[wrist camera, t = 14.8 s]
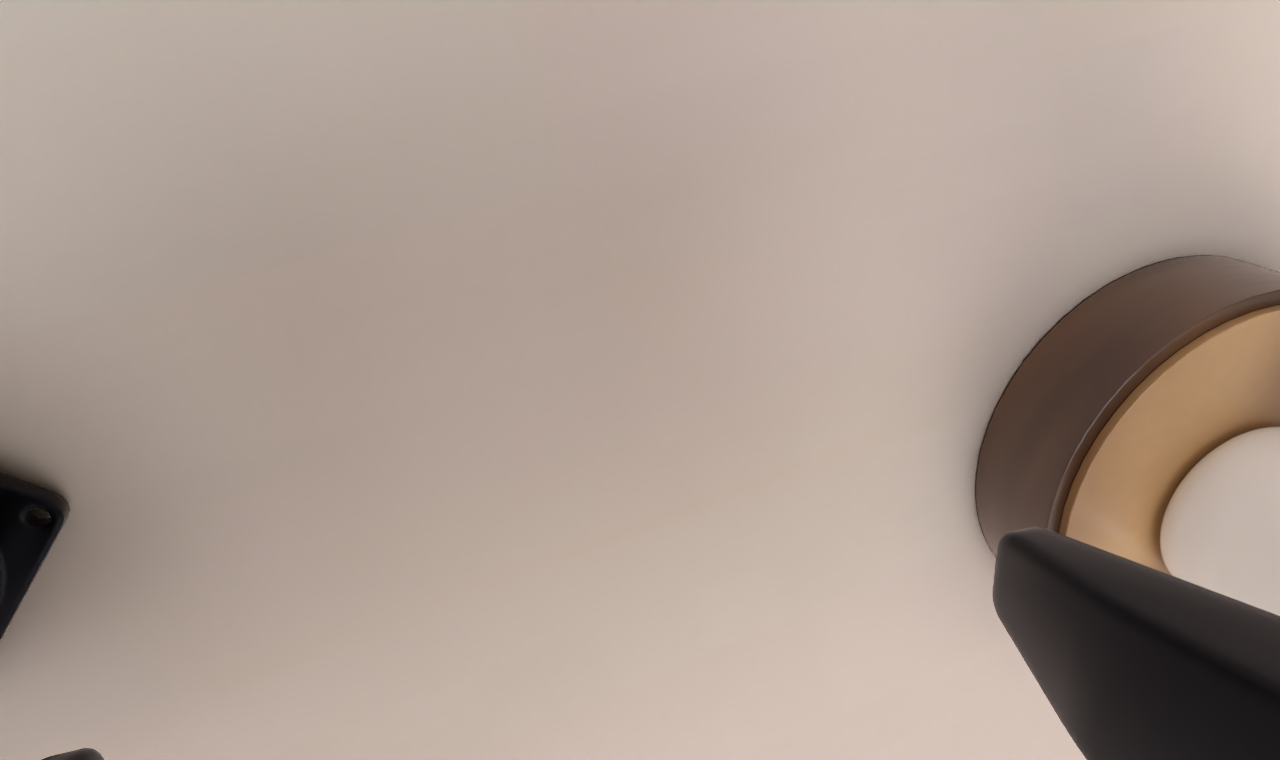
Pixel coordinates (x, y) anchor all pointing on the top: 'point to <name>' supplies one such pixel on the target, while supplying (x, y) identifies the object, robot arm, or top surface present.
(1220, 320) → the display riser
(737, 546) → the top surface
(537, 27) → the top surface
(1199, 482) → the white tumbler
